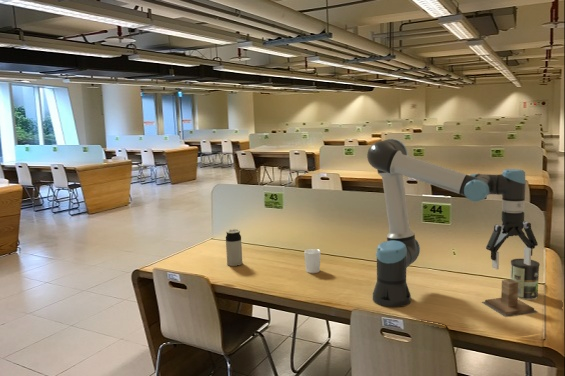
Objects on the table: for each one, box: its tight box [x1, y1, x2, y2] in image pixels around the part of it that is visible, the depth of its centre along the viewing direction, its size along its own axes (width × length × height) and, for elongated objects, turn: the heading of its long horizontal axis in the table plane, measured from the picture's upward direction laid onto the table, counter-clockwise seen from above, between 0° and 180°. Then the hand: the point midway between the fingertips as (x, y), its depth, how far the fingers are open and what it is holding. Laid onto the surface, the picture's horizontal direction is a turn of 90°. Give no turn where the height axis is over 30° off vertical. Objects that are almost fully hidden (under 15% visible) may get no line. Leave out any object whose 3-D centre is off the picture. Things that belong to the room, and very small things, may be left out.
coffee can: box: [510, 258, 540, 301], centre depth 187 cm, size 10×10×14 cm
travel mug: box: [225, 228, 243, 267], centre depth 241 cm, size 8×8×18 cm
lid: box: [484, 278, 535, 315], centre depth 176 cm, size 12×12×10 cm
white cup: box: [303, 248, 321, 274], centre depth 227 cm, size 8×8×10 cm
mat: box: [481, 301, 538, 318], centre depth 177 cm, size 14×14×1 cm
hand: (511, 266), depth 174 cm, fingers open, 13 cm apart
